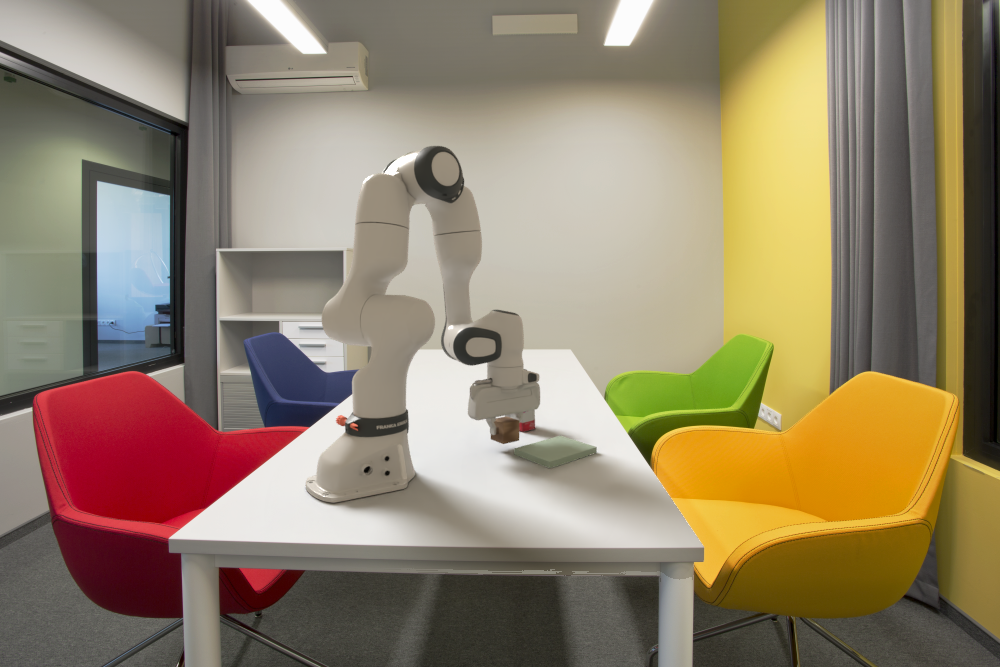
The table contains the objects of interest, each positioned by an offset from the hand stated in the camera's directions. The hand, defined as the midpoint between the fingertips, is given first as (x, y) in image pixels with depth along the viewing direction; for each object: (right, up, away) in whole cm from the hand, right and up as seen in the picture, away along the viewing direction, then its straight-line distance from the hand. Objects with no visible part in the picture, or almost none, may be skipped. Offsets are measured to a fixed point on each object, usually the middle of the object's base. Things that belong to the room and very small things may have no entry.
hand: (504, 432), depth 133 cm
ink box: (+4, -3, +20) cm, 20 cm away
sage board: (+12, -5, -2) cm, 13 cm away
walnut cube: (0, -2, 0) cm, 2 cm away
